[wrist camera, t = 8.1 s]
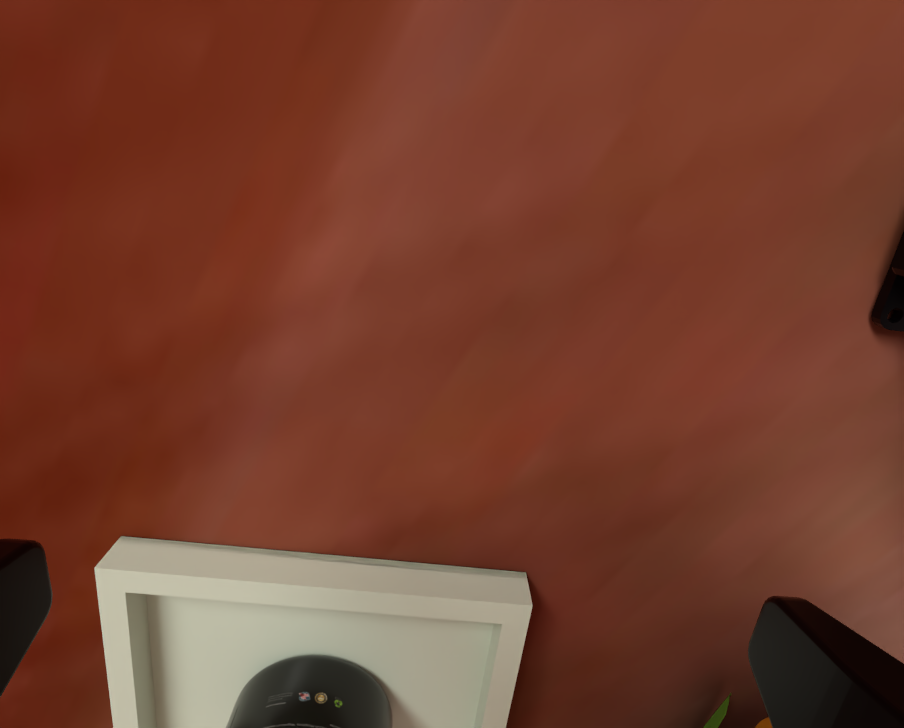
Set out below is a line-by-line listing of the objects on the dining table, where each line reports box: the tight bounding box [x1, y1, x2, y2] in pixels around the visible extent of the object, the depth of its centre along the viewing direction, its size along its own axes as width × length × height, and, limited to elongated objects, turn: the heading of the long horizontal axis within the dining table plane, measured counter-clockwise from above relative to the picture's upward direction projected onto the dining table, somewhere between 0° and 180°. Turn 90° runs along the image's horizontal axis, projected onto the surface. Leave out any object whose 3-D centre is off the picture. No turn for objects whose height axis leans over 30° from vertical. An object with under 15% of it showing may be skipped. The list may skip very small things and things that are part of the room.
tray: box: [95, 536, 533, 728], centre depth 24 cm, size 16×16×2 cm
